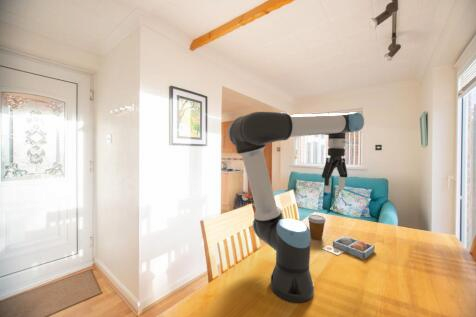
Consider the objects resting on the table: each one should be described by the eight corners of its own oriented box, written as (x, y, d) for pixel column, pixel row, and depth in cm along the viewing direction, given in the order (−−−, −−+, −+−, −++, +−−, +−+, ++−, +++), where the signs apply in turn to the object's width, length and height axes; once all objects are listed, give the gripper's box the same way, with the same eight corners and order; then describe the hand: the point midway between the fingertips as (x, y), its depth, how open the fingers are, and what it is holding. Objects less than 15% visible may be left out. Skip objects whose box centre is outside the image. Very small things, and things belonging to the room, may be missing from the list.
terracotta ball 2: (364, 252, 98) (363, 241, 99) (353, 249, 102) (353, 239, 103) (369, 252, 100) (369, 241, 101) (358, 249, 104) (358, 239, 106)
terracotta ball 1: (362, 257, 95) (360, 246, 95) (351, 254, 99) (349, 244, 99) (366, 253, 98) (365, 243, 98) (355, 250, 102) (354, 240, 102)
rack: (364, 259, 93) (364, 253, 93) (332, 247, 105) (332, 241, 105) (374, 251, 101) (374, 245, 101) (344, 240, 113) (344, 235, 112)
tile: (337, 255, 96) (337, 254, 96) (322, 248, 103) (322, 247, 103) (343, 252, 100) (343, 251, 100) (328, 245, 106) (328, 244, 106)
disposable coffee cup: (327, 241, 111) (328, 220, 111) (310, 241, 111) (311, 219, 111) (321, 234, 121) (321, 214, 120) (305, 234, 121) (305, 214, 121)
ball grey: (348, 249, 102) (349, 240, 102) (339, 246, 106) (339, 236, 106) (353, 247, 105) (353, 237, 105) (343, 243, 109) (343, 234, 109)
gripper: (330, 146, 87) (328, 195, 88) (355, 148, 102) (354, 190, 103) (314, 146, 93) (313, 192, 94) (341, 148, 108) (339, 187, 109)
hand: (334, 191), depth 98 cm, fingers open, 13 cm apart
